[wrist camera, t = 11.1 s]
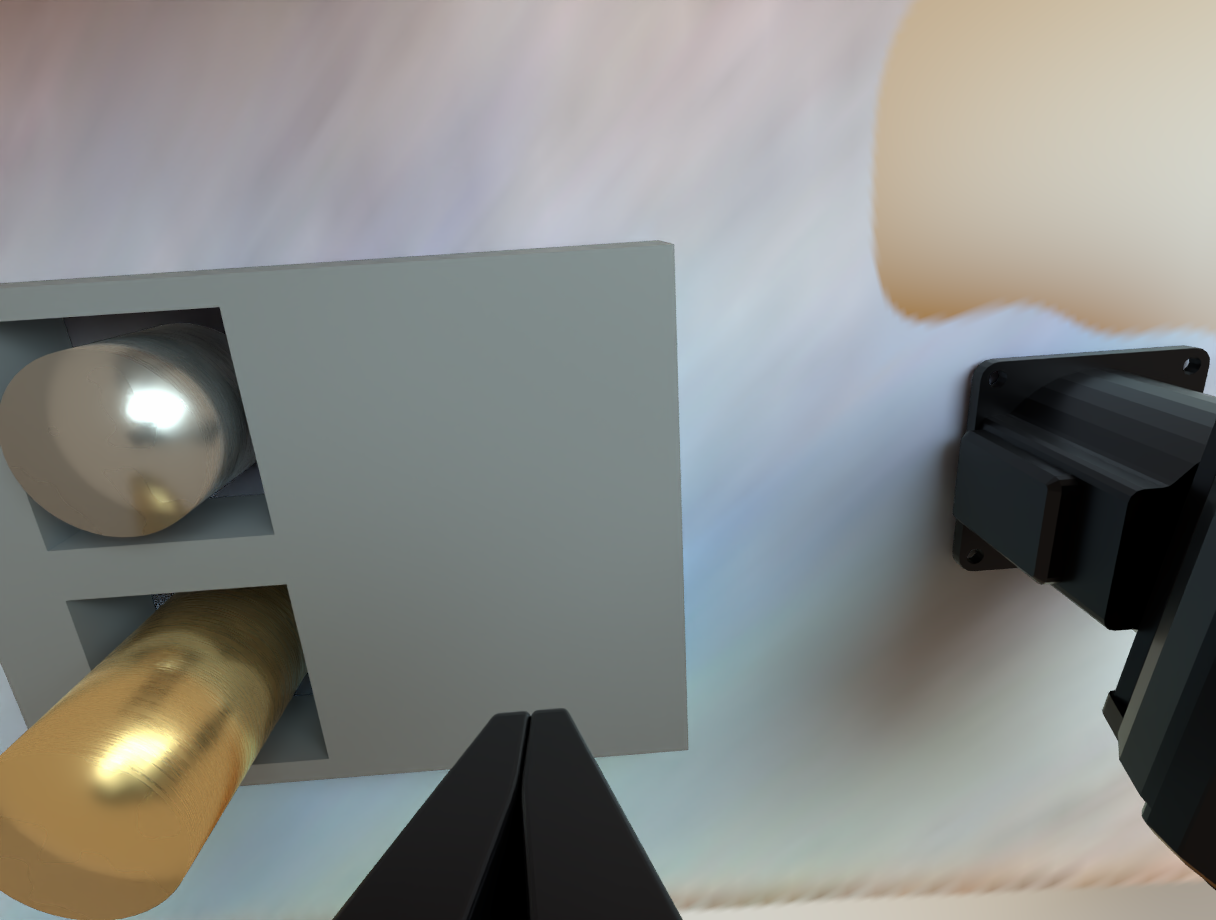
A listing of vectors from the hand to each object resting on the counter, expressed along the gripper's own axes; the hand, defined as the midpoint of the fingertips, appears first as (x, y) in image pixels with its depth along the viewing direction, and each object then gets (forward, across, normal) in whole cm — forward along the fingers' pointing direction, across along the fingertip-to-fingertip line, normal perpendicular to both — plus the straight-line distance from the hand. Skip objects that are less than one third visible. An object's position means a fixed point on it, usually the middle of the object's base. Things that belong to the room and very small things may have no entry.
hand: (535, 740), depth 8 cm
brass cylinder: (+12, +10, +6) cm, 17 cm away
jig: (+12, +6, +2) cm, 14 cm away
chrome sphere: (+13, +10, -2) cm, 16 cm away
